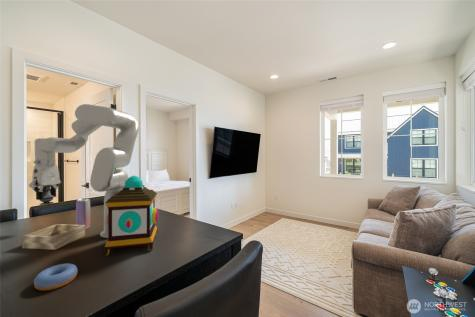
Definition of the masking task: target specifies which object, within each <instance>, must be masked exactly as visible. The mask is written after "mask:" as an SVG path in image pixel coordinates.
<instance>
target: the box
mask: <svg viewBox="0 0 475 317" xmlns="http://www.w3.org/2000/svg"><path fill="white" fill-rule="evenodd" d="M85 236H86V229H85V225H76V224H66V223H65V224H63V223H60V224H59V223H56V224H53V225H50V226H48V227H45V228H42V229H41V228H40V229H38V230H36V231H32V232H30V233H27V234H24V235H22V236H21V238H22V239H21V240H22V242H21V244H22V249H34V250H35V249H37V250H57V249H60V248H61V247H64V246H66V245H68V244H70V243H72V242H74V241H77V240H79V239H80V238H83V237H85Z"/></svg>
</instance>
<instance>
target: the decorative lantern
mask: <svg viewBox="0 0 475 317" xmlns="http://www.w3.org/2000/svg"><path fill="white" fill-rule="evenodd" d="M128 177H129V178H128V179H127V180H126V181H125V187H124V188H123V190H121V191H120V192H118V193H116V194H115V195H113V196H111V198H109V199H108V200H107V201H106V202H105V204H106V206H107V207H108V216H107V223H108V238H107V240H106V242H105V245H104V246H103V254H104V255H105V256H108V255H109V254H110V250H111V249H116V248H126V247H137V246H148V251H152V250H154V241H155V239H156V236H157V235H158V227H157V225H156V223H157V222H158V220H159V210H158V208H157V207H156V206H155V205H156V204H155V203H156V202H155V201H156V198H157V195H158V192H156V191H155V190H153V189H149V188H147V187H146V186H145V185H144V183H143V180H142V179H141V178H140V177H139V176H138V175H131V176H128Z"/></svg>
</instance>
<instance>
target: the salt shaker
mask: <svg viewBox="0 0 475 317" xmlns="http://www.w3.org/2000/svg"><path fill="white" fill-rule="evenodd" d="M42 191H43V198H44V199H43V200H39V202H41V203H39V206H47V205H51V204H54V203H55V202H54V201H53V200H54V198H55V197H54V196H52V195H51V193H50V185H46V186H43V189H42Z"/></svg>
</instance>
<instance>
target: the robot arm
mask: <svg viewBox="0 0 475 317" xmlns="http://www.w3.org/2000/svg"><path fill="white" fill-rule="evenodd" d="M74 116H75V118H76V120H75V121H73V122H71V123H72V124H71V129H72V130H73V132H74V133H75V135H73V136H72V137H70V138H65V137H55V136H54V137H53V136H52V137H47V138H41V137H40V138H36V139H35V140H34V160H33V164H34V166H33V170H32V179H31V180H32V181H31V182H30V183H29V184H28V187H30V189H32V190H33V191H34V193H35V199H36V201H37V200H38V201H40V200H43V199H44V198H43V191H42V189H43V186H46V185H50V193H51V195H52V196H54V197H53V198H56V197H57V190H58V187H59V186H60V184H61V183H62V180H61V179H60V170H59V168H58V165H57V164H56V153H57V154H58V153H60V154H64V153H65V154H72V153H75V152H77V151H78V150H80V149H82V148H83V147H84V146H86V144H87V142H88V140H89V136H90V135H92V134H93V133H94V132H95V131H97V130H99V129H100V128H101V127H102V126H103V127H109V128H112V129H119V130H120V131H119V132H118V134H117V135H116V136H115V138H114V144H113V145H112V146H113V147H109V146H108V147H107V146H106V147H103V148H102V149H100V150H99V151H98V152H97V154H96V155H95V159H94V161H93V166H92V170H91V174H90V181H89V182H90V186H91V188H92V190H94V191H95V192H99V193H102V192H105V193H104V197H103V230H101V232H100V233H99V236H100V237H101V238H103V239H108V223H107V216H108V207H107V206H106V204H105V202H106V201H107V200H108V199H109V198H111V196H113V195H115V194H116V193H118V192H120V191H121V190H123V188H124V187H125V181H126V180H127V179H128V178H129V177H130V176H129V174H128V173H127V172H126V170H123V169H120V168H125V167H127V166H129V165H130V163H131V160H132V155H133V151H134V147H135V143H136V139H137V137H138V133H139V128H140V127H139V123H138V120H136V118H135V117H134V116H132V114H131V115H130V114H129V113H127V112H123V111H121V110H118V109H115V108H111V107H107V106H100V105H95V104H89V103H84V104H80V105H79V106H77V107H76V108H75V110H74Z"/></svg>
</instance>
